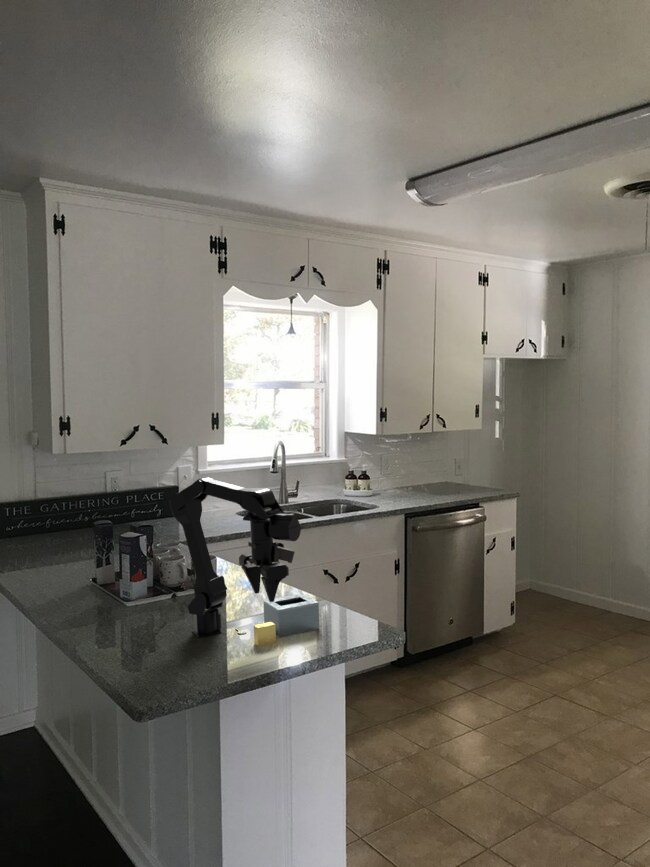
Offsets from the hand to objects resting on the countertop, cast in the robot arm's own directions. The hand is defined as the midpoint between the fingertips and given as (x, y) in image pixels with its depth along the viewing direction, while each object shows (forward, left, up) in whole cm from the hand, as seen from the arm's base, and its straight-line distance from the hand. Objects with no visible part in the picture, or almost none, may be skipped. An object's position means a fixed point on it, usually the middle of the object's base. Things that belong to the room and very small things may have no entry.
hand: (264, 597), depth 191 cm
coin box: (+11, +7, -12) cm, 17 cm away
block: (0, 0, -12) cm, 12 cm away
